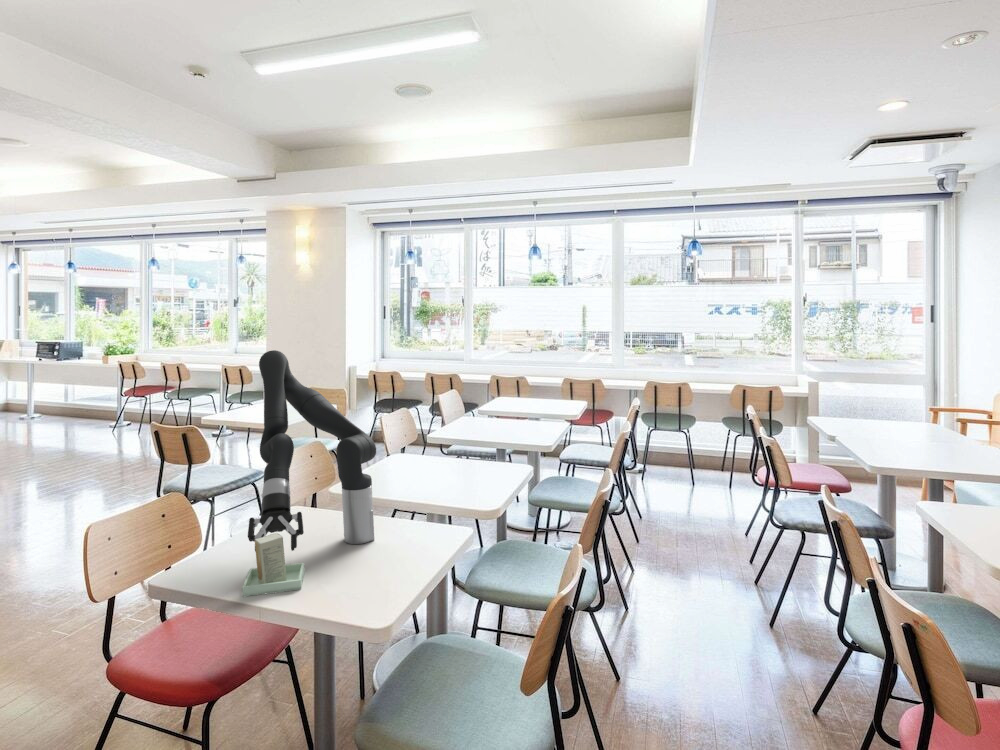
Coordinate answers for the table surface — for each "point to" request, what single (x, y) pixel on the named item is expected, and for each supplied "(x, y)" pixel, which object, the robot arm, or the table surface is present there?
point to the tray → (292, 583)
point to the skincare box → (270, 559)
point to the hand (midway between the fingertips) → (275, 551)
